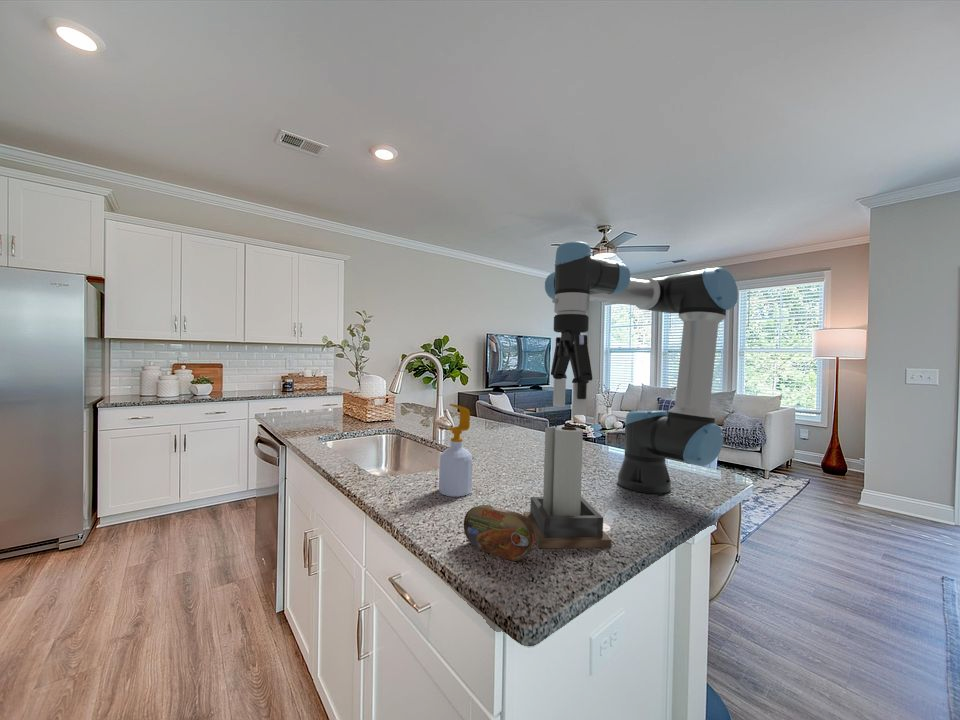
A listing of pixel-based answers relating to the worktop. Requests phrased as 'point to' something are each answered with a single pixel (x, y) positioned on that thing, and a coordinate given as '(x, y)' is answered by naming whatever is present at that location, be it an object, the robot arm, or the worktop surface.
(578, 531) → the open box on board
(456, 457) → the soap bottle
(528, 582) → the worktop surface
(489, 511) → the tin
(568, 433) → the paper towel roll
